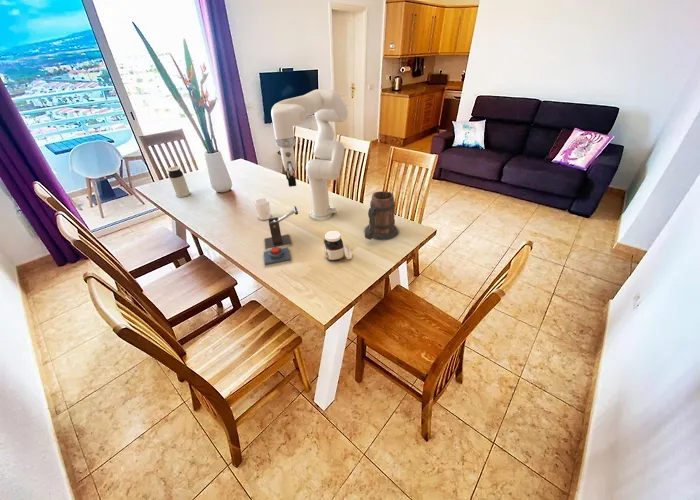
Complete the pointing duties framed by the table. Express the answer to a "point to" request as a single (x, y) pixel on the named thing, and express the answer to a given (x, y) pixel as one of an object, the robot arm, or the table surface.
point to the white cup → (262, 208)
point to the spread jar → (335, 246)
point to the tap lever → (287, 215)
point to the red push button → (275, 250)
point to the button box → (276, 256)
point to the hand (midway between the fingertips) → (291, 182)
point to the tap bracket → (276, 235)
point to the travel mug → (178, 181)
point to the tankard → (381, 217)
